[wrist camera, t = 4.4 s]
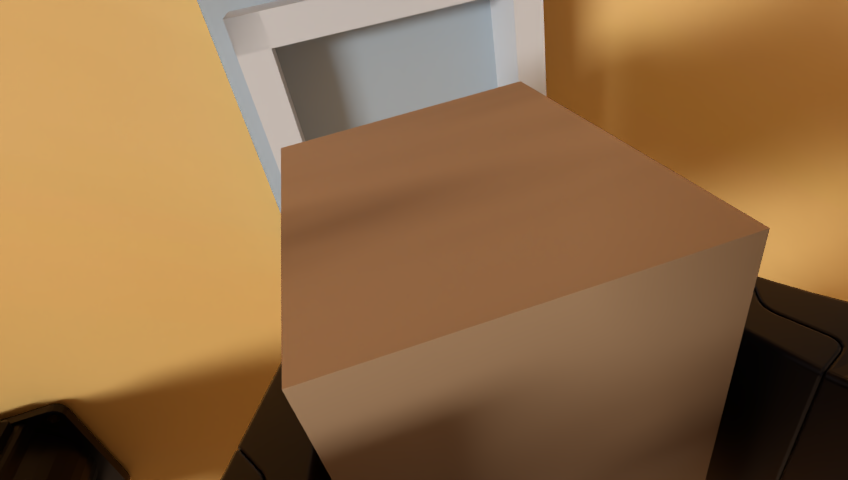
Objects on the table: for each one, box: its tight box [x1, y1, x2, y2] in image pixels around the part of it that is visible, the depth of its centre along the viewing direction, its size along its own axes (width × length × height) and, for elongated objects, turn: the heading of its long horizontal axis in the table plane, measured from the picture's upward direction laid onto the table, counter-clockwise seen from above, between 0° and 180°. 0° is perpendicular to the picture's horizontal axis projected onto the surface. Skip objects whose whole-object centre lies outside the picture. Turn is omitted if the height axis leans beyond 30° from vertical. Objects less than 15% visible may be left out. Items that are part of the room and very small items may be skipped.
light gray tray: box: [197, 0, 547, 212], centre depth 15 cm, size 18×11×5 cm, turn 10°
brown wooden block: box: [281, 81, 770, 480], centre depth 8 cm, size 6×4×6 cm
